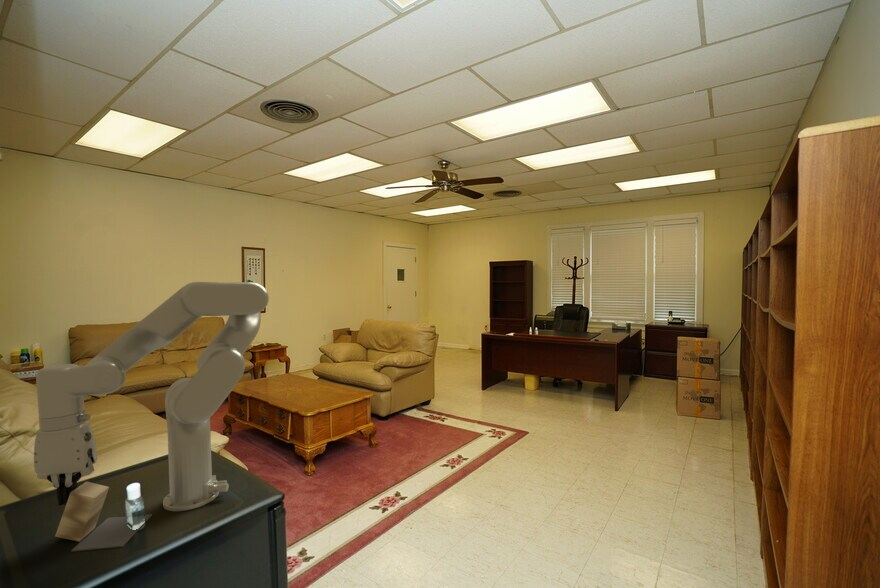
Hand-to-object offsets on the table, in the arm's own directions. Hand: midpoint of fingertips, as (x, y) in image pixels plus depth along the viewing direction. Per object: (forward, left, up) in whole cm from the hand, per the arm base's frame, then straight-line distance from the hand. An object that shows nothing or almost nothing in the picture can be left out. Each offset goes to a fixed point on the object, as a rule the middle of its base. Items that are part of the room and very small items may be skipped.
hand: (68, 501), depth 93 cm
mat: (-9, 0, -8) cm, 12 cm away
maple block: (-1, 0, -7) cm, 7 cm away
